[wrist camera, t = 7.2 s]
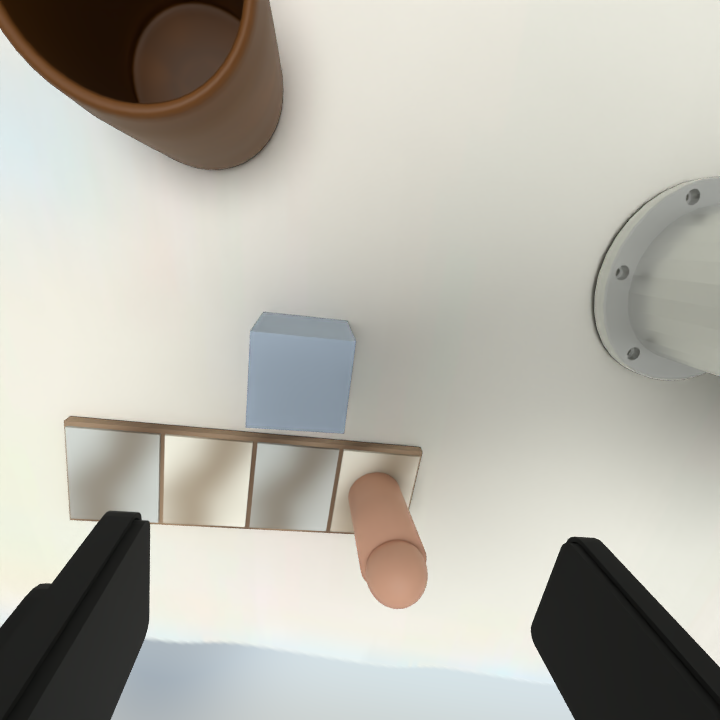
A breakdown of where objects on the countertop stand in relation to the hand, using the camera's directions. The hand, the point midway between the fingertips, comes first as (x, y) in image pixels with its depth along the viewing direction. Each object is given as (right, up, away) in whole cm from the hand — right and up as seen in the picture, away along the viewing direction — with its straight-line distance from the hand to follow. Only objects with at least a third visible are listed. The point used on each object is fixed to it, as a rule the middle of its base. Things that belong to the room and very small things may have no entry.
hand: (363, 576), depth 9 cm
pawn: (+1, -4, +18) cm, 18 cm away
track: (-7, -3, +17) cm, 19 cm away
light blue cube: (-4, +5, +15) cm, 16 cm away
